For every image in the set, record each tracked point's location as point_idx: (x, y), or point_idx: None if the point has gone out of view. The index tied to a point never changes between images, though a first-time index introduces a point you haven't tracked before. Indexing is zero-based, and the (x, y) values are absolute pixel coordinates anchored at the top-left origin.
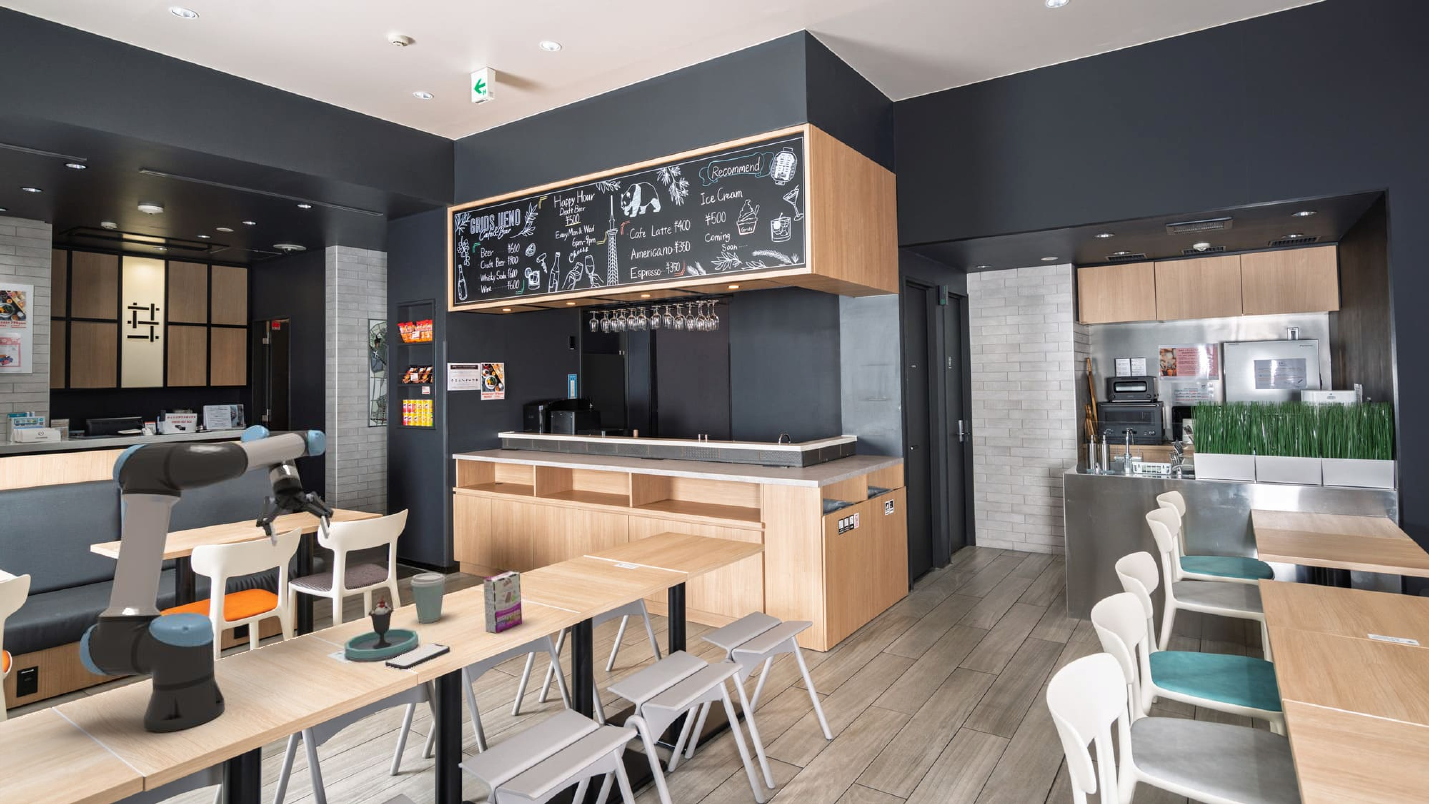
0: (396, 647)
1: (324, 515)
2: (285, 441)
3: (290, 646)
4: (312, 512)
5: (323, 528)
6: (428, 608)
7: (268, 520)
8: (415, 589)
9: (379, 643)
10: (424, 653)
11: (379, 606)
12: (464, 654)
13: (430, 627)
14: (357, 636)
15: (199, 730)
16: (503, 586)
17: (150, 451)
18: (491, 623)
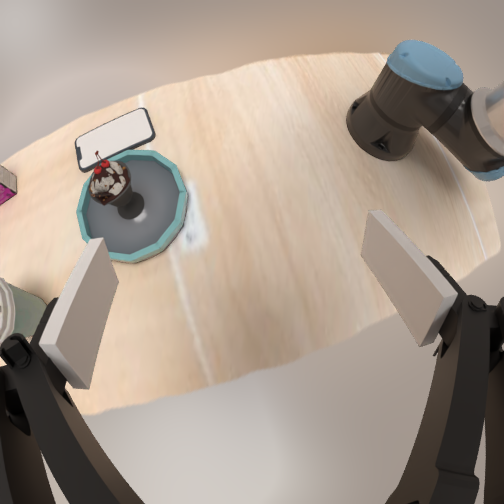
0: (126, 150)
1: (36, 355)
2: None
3: (255, 343)
4: (104, 459)
5: (96, 303)
6: (27, 292)
7: (472, 313)
8: (17, 304)
9: (133, 201)
10: (105, 134)
11: (109, 165)
12: (75, 122)
13: (47, 273)
14: (152, 248)
15: (360, 92)
16: None
17: None
18: (9, 178)
